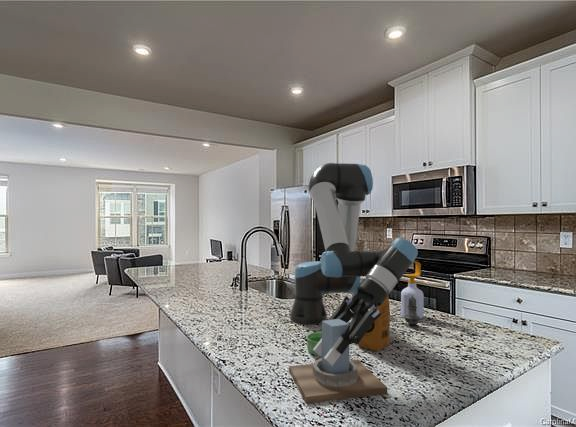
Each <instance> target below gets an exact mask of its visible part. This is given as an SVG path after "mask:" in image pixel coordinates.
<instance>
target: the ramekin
mask: <svg viewBox="0 0 576 427" xmlns="http://www.w3.org/2000/svg"><path fill="white" fill-rule="evenodd" d="M321 338H322V332H311V333H309V334H307V335H306V337H305V339H306V342H307V351H308V353H310V354H311V355H314V356H319V355H318V354H317V353H316V352H315V351H314V350H313V349H314V347H315V346H316V345H317V344H318V342H319V341H320V340H321ZM319 357H320V356H319Z"/></svg>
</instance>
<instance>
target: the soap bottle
mask: <svg viewBox="0 0 576 427" xmlns="http://www.w3.org/2000/svg"><path fill="white" fill-rule="evenodd" d="M413 263H414V264H415V272H414V273H405V276H407V277H408V279H409V280H408V281H407V287H405V288H403V289H402V290H401V293H400V312H401V313H400V315H401V317H403V318H405V317H404V316H405V315H407V314H408V307H407V306H408V299H409V298H411V297H412V295H413V298H415V299H416V307H417V309H416V313H417V316H419V317H420V319H419V320H421V319H423V318H424V314H425V313H424V309H425V308H424V307H425V306H424V300H425V299H424V292H423V291H422V290H421V289H419V288H418V287H417V281H415V279H416V277H417V278H418V277H421V274H422V270H421V269H422V264H421V263H420V262H419V261H417V260H414V261H413Z"/></svg>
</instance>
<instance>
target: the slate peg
mask: <svg viewBox="0 0 576 427" xmlns="http://www.w3.org/2000/svg"><path fill="white" fill-rule="evenodd" d="M349 325H350V323H349V322H348V323H346V322H344V321H342V320H340V319H333V320H329V319H327V320H325V321H322V323H321V333H322V356H321V358H322V369H324V370H325V371H326V372H327V373H330V374H337V375H338V374H346V373H349V360H350V345H349V346H348V347H347V348H346V350H345V351H344V353H342V354H341V355H340V356H339V358H338V359H337V360H336V362H335V363H334V364H333V366H332V365H331V364H329V363H328V362H327V361H326V360H325V359H324V357H325V356H326V355H327V353H328V352H329V351H330V349H331V348H332V347H333V345H334V344H335V343H336V341H337V340H338V339H339V338H340V336H341V337H342V334H345V332H346V330H347V328H348V327H349ZM342 338H343V337H342ZM343 339H344V338H343Z"/></svg>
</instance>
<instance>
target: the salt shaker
mask: <svg viewBox="0 0 576 427" xmlns="http://www.w3.org/2000/svg"><path fill="white" fill-rule="evenodd" d="M407 307H408V314H407V315H405V316H404V317H403V318H404V319H405V323H406V324H405V327H406V328H409V329H419V328H420V325H419V324H418V323H419V322H420V320H421V319H420V317H419V316H417V313H416V309H417V307H416V299H415V298H413V295H412V297H411V298H409V299H408V306H407Z"/></svg>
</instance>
